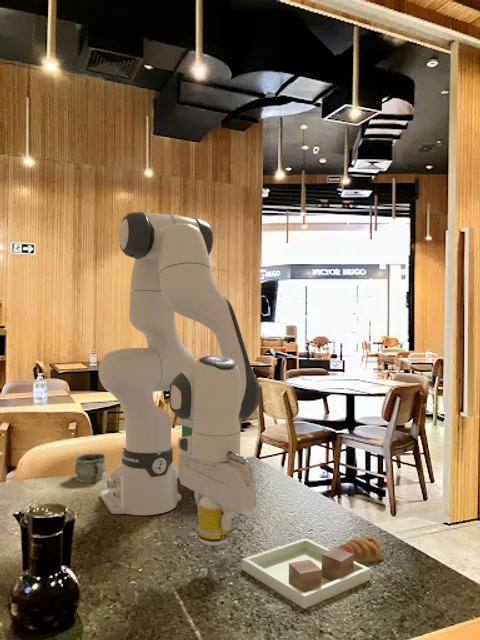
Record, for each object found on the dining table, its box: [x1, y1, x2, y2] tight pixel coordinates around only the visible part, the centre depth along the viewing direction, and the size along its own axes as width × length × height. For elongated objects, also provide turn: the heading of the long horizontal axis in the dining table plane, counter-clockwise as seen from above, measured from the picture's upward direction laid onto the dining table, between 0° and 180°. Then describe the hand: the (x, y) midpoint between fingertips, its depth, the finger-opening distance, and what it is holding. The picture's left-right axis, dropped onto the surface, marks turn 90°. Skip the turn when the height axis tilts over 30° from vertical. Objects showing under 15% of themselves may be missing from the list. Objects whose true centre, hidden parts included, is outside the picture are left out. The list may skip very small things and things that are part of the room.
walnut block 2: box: [322, 547, 354, 581], centre depth 91 cm, size 4×4×4 cm
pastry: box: [336, 536, 385, 564], centre depth 100 cm, size 9×7×4 cm
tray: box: [241, 537, 371, 610], centre depth 92 cm, size 16×16×2 cm
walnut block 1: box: [289, 560, 322, 593], centre depth 86 cm, size 4×4×4 cm
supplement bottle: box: [198, 487, 229, 546], centre depth 94 cm, size 5×5×10 cm
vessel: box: [74, 453, 107, 483], centre depth 149 cm, size 12×9×6 cm
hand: (213, 522), depth 94 cm, fingers closed on supplement bottle, 5 cm apart
